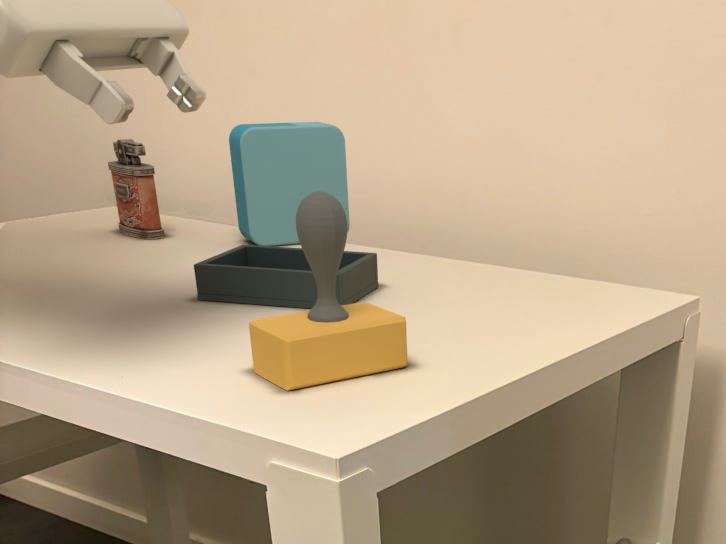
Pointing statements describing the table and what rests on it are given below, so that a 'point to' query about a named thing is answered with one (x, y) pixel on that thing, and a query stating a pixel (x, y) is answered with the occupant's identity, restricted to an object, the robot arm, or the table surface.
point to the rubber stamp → (326, 316)
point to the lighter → (135, 191)
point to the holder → (280, 277)
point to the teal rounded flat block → (284, 175)
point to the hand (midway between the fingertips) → (162, 110)
